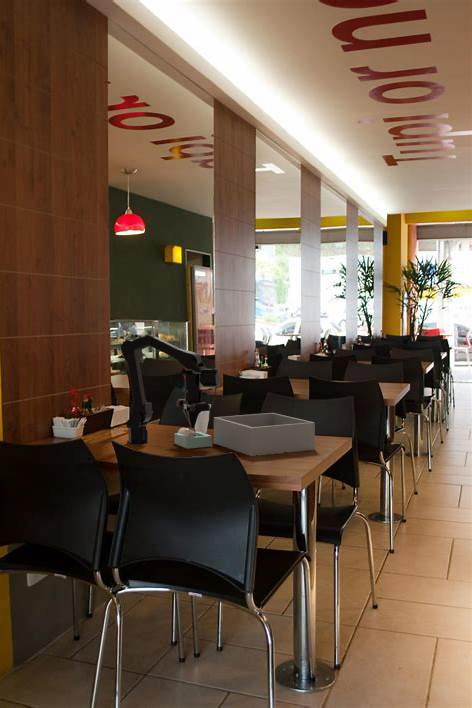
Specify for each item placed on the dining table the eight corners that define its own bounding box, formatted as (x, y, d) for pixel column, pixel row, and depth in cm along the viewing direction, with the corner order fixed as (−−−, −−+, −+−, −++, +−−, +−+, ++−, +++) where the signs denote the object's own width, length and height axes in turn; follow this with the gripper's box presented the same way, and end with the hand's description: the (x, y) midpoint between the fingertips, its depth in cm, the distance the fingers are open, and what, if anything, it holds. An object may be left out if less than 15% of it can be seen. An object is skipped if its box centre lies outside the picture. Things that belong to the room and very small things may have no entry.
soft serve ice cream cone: (212, 431, 305) (212, 393, 305) (209, 434, 297) (209, 395, 296) (192, 431, 306) (192, 393, 305) (189, 434, 298) (189, 395, 297)
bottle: (179, 440, 279) (189, 444, 272) (176, 430, 278) (186, 433, 271) (189, 436, 281) (199, 439, 274) (186, 426, 280) (196, 428, 273)
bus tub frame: (251, 456, 250) (251, 428, 250) (213, 443, 277) (213, 417, 276) (314, 450, 262) (314, 422, 261) (272, 437, 289) (272, 412, 288)
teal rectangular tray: (187, 448, 266) (187, 438, 265) (174, 443, 276) (174, 433, 276) (211, 446, 270) (211, 435, 270) (198, 441, 281) (198, 431, 281)
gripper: (222, 387, 268) (222, 429, 268) (201, 383, 284) (201, 423, 285) (195, 389, 262) (195, 431, 263) (175, 384, 279) (175, 425, 280)
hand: (192, 427), depth 273 cm, fingers closed
